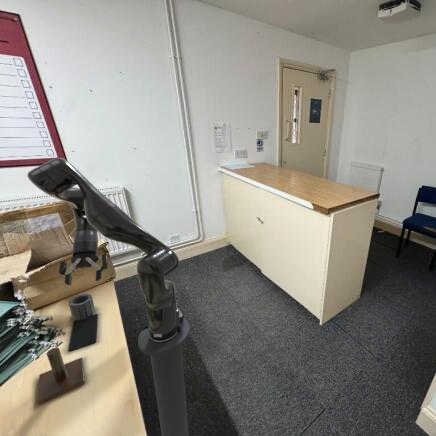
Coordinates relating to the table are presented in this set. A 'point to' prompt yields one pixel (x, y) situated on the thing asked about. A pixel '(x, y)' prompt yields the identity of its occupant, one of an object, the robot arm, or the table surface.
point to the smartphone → (83, 333)
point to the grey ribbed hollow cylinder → (81, 306)
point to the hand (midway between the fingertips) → (83, 282)
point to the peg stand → (59, 376)
